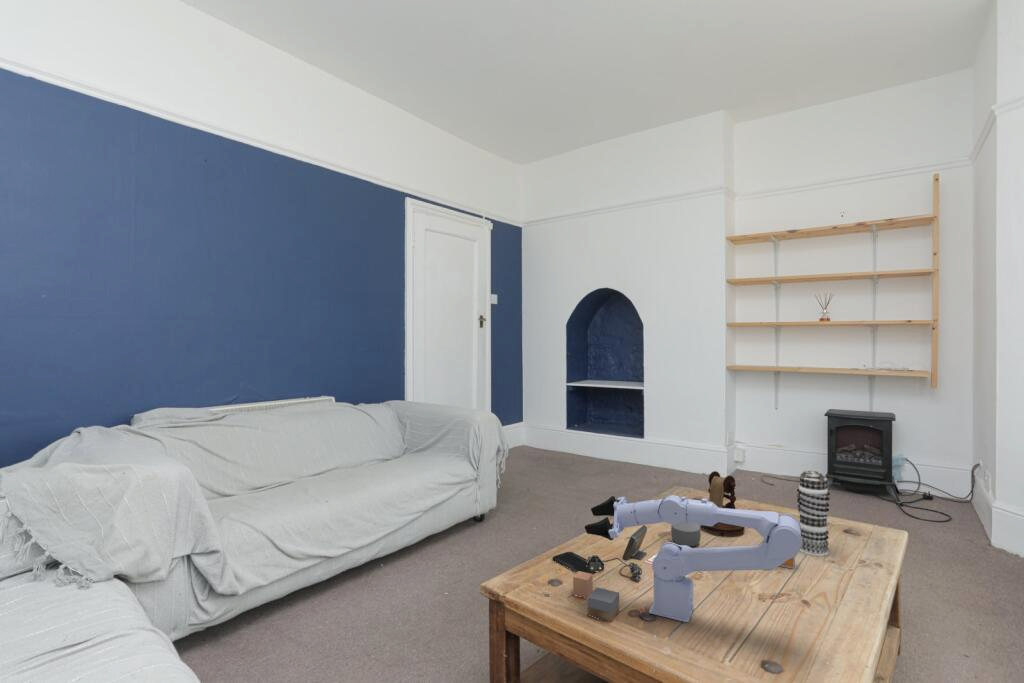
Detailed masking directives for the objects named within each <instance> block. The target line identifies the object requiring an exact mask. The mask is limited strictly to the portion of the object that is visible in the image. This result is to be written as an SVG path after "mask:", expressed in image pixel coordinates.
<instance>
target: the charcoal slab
mask: <svg viewBox="0 0 1024 683" xmlns="http://www.w3.org/2000/svg"><path fill="white" fill-rule="evenodd" d="M618 604H619V605H620V592H617V591H614V590H610V589H605V588H602V587H598V586H597V587H595V589H593V592H592V593H591V594H590V595H589V597H588V599H587V608H588V607H589V608H593V609H596V610H600V611H604V612H607V613H612V612H613V611H614V609H615V608H616V607H617V605H618Z"/></svg>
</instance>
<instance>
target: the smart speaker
mask: <svg viewBox="0 0 1024 683" xmlns="http://www.w3.org/2000/svg"><path fill="white" fill-rule="evenodd" d="M670 526H671V528H670V534H671V539H672V541H673V543H675V544H677V545H686V546H689V547H691V548H695V547H696V546H697V545H699V543H700V541H701V534H702V533H701V525H697V524H690V523H684V522H680V523H678V524H676V525H672V524H670Z"/></svg>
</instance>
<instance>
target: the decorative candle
mask: <svg viewBox="0 0 1024 683" xmlns="http://www.w3.org/2000/svg"><path fill="white" fill-rule="evenodd" d="M798 477H799V486H798V487H799V488H797V489H796V492H798V493H797V494H796V497H797V498H796V500H797V501H796V502H797V503H798V504H797V512H798V514H799V520H798V521H799V523H800V526H801V537H802V546H801V549H800V550H799V552H801V553H803V554H806V555H809V556H813V557H814V556H816V557H824V555H825V556H828V555H829V541H828V540H829V535H828V534H829V530H828V519H827V518H829V514H828V512H830V509H829V508H828V507H830V504H829V502H828V501H831V498H830V497H829V496H831V493H830V491H829V490H828V478H827V477H825V475H824V474H823V473H822V472H820V471H815V470H804V471H803V472H801V474H799V475H798Z"/></svg>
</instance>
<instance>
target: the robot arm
mask: <svg viewBox="0 0 1024 683" xmlns="http://www.w3.org/2000/svg"><path fill="white" fill-rule="evenodd" d="M590 510H591V513H592V515H593V516H595V517H602V516H604V517H605V516H606V517H605V518H603V519H602V520H599V521H597V522H594V523H593V522H592V523H590V524H586V525H585V526H584V529H585V532H586V534H588V535H594V536H599V537H603V538H605V539H607V540H609V541H613V540H614V539H617V538H619V536H620V534H621V533H622V532H623V530H624V529H625V528H631V527H638V526H645V525H646V526H647V525H654V524H655V525H656V524H659V523H661V524H662V523H666V524H669V525H676V524H678V523H680V522H684V523H690V524H697V525H700V526H701V525H705V526H713V525H715V524H716V523H718V522H720V523H726V524H731V525H736V526H742V527H745V528H748V529H753V530H755V531H756V532H757V533H758V535H760V536H761V537H762V538H763V541H762V542H761V544H759V545H744V546H743V545H742V546H741V545H740V546H719V547H718V546H715V547H689V546H686V545H678V544H676V543H675V542H672V541H671V542H670V541H667V542H664V543H663V544H661V545H660V548H659V550H658V552H657V554H656V555H655V557H654V558H653V559H652V562H651V563H652V564H651V568H652V571H653V603H652V604H651V606H650V608H649V611H648V613H649V614H652V615H656V616H659V617H664V618H668V619H672V620H676V621H680V622H684V623H689V622H690V619H691V617H692V613H693V611H694V609H695V606H694V580H693V579H691V578H688V577H687V576H688V575H690V574H692V573H694V572H716V571H717V572H721V571H725V572H726V571H731V572H732V571H760V570H761V571H764V570H765V571H767V570H768V571H770V570H776V569H777V568H778V567H781V566H780V565H781V564H783V563H784V562H786V561H787V560H789V559H790V558H795V559H796V557H798V556H797V555H798V554H799V552H800V549H801V546H802V537H801V526H800V523H799V521H800V520H798V519H797V518H796V517H795V516H793V515H792V514H789V513H779V512H776V511H772V510H771V511H770V510H769V511H767V510H763V511H762V510H752V509H738V508H737V509H736V508H735V509H727V508H718V507H717V506H716V505H715V504H714V503H713V502H709V498H704V497H703V498H701V500H700V499H699V500H698V499H690V498H687V497H686V496H681V497H680V496H678V495H675V494H673V493H670V494H668V495H666V496H665V497H664V499H663V498H659V499H650V500H649V499H648V500H643V501H637V502H629V503H628V501H627V499H626V496H621V497H617V499H616V497H615V496H614V495H613V496H610V497H609V498H608V499H607V500H605V501H604V502H602V503H600V504H597V505H595V506H592V507H591V508H590ZM607 516H609V517H613V520H612V523H611V521H610V519H609V517H607Z"/></svg>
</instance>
